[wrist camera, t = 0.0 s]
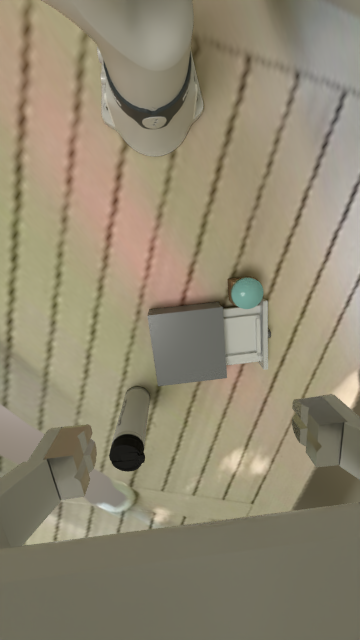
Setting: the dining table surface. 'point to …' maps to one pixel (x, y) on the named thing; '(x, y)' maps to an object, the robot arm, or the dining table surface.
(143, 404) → the travel mug
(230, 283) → the brown wooden cube
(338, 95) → the dining table surface
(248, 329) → the light grey drawer
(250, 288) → the teal flat dome
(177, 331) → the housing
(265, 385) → the dining table surface
